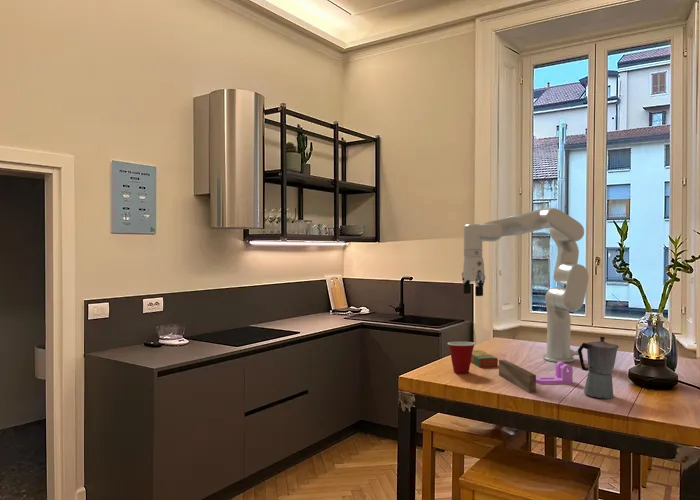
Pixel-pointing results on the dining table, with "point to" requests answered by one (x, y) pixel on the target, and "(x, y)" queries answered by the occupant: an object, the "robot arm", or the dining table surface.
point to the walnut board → (517, 376)
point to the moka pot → (599, 368)
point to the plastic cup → (461, 356)
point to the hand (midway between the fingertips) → (473, 294)
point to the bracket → (558, 375)
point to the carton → (483, 359)
